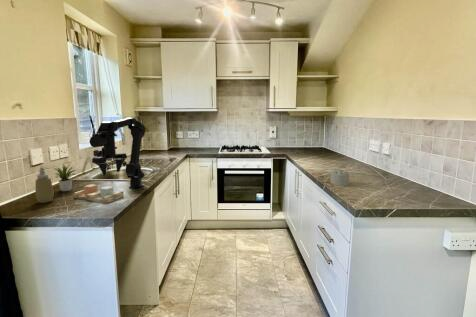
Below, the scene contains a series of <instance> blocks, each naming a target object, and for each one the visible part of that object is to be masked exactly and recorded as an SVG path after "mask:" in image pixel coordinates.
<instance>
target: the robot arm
mask: <svg viewBox="0 0 476 317" xmlns="http://www.w3.org/2000/svg"><path fill="white" fill-rule="evenodd" d="M125 127H127V128H128V129H129V130H130V135H131V137H132V141H131V151H130V152H131V153H130V159H129V160H130V161H129V162H128V163H126V164H125V168H124V171H125V174H126V176H127V179H130V180H129V183H130V184H129V185H130V186H128V188H129V189H134V188H136V189H135V190H137V188H138V189H141V188H144V187H145V185H143V181H142V180H143V178H145V173H144V172H143V171H142V165H141V164H140V154H141V146H142V143H141V142H142V139H143V138H144V137H145V134H146V126H145V125H144V124H143V122H141V121H139V120H137V119H136V118H135V117H126V118H122V119H119V120H118V119H117V120H115V121H102V122H100V124H99V126H98V129H97V131H96V132H95V133H92V134H91V137H90V139H89V144H90V146H91V147H92V148H99V147H101V150H99V149H95V150H93V152H92V153H93V154H92V155H93V156H94V157H92V159H91V163H92V164H94V165H97V166H98V167H99V169H100V171H101V173H102V175H103V176H106V175H107V167H108V166H107V165H108V163H107V161H112V160H113V161H115V165H116V172H117V173H119V172H120V170H121V168H122V166H123V164H124V162H125V161H126V159H128V155H127V153H122V152H119V153H118V152H117V151H116V150H117V149H118V146H116V139H115V137H118V134H117V133H116V132H117V131H118V130H119V129H121V128H125ZM116 152H117V153H116Z"/></svg>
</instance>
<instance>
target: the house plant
mask: <svg viewBox="0 0 476 317" xmlns="http://www.w3.org/2000/svg"><path fill="white" fill-rule="evenodd" d="M70 165H71V163H69V164H68V165H67V166H66V164H62V169H61V168H60V167H57V168H56V167H55V168H52V170H54V171H56V172H55V173H54V175H55V179H57V178H59V180H58V185H59V188H60V191H61V192H68V191H71V190H72V186H73V185H72V184H73V178H71V177H72V176H75V175H77V172H76V171H77V169H75V167H76V164H74V165H72V166H70ZM69 167H70V168H69ZM73 169H74V170H73Z"/></svg>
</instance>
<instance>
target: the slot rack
mask: <svg viewBox="0 0 476 317" xmlns="http://www.w3.org/2000/svg"><path fill="white" fill-rule="evenodd" d="M113 193H114V192H113ZM123 196H124V190H123V191H122V190H120V191H117V192H115V193H114V194H111V195H108V196H105V197H103V198H101V194H100V190H97V192H93V193H90V194H87V195H85V190H84V189H82V190H80V191H79V190H78V191H76V192H74V199H80V200H86V201H90V202H95V203H96V202H98V203H104V204H107V202H108V203H110V202H113V201H116V200H119V199H121V198H123ZM120 197H121V198H120ZM118 198H119V199H118ZM115 199H116V200H115ZM112 200H113V201H112Z"/></svg>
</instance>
